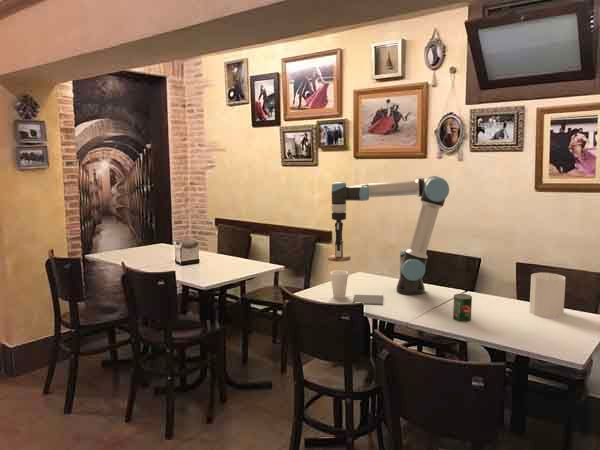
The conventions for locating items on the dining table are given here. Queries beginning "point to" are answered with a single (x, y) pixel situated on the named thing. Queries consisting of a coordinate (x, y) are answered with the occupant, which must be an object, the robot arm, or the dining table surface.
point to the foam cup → (339, 283)
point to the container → (547, 295)
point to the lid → (339, 259)
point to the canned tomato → (462, 307)
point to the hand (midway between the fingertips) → (339, 255)
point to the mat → (369, 299)
